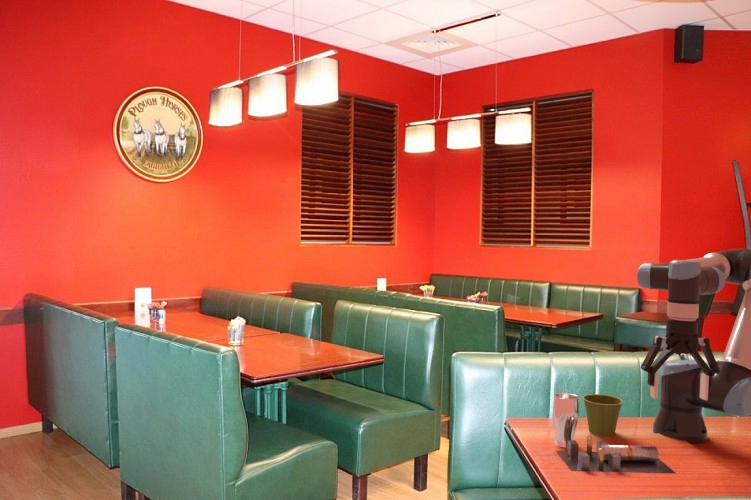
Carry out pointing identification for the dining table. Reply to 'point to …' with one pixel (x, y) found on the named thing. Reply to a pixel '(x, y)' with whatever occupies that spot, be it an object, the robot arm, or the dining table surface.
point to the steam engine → (598, 464)
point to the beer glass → (565, 418)
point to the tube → (632, 452)
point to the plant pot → (602, 413)
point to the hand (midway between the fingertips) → (678, 398)
